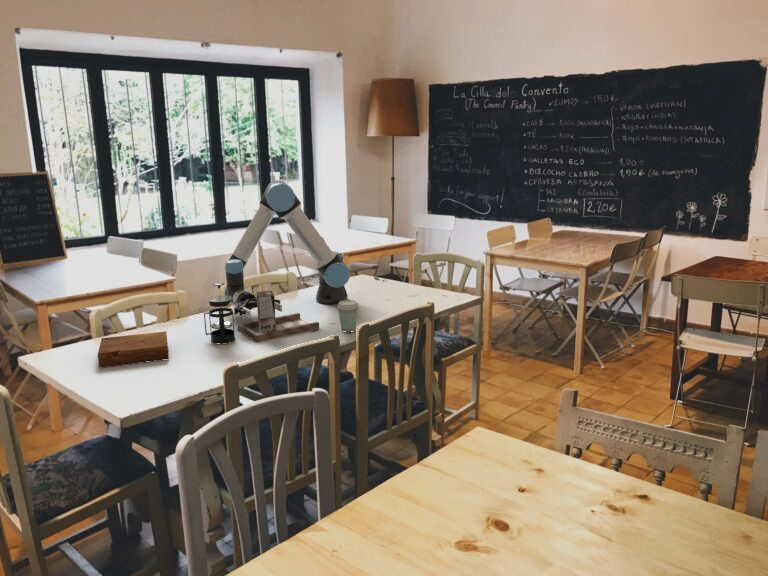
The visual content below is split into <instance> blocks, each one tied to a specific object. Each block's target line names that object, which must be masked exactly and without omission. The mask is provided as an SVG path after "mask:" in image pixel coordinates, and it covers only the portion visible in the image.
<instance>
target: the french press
mask: <svg viewBox="0 0 768 576" xmlns="http://www.w3.org/2000/svg"><path fill="white" fill-rule="evenodd" d="M224 285H225V283H224V282H216V283H213V286H214V287H217V289H218V294H219V295H216V296H211V297H209V298H208V299H207V301H208V302H209V303H208V304H209V306H210V307H213V309H210V310H209V311H207V312H203V318H204V320H203V321H204V330H205V335H206V336H210V342H211V343H212V342H213V343H212V344H214V343H220V344H219V345H222V344H221V343H227V344H230V343H229V342H231V343H233V342H235V341H236V336H235V335H236V334H235V325H234V324H235V321H234V319H232V322H231V321H225V318H227V317H230V316H232V317H234V310H233V309H232V308H230V307H228V305H230V304H231V303H230V300H232V297H230V296H224V295H221V286H224ZM224 312H227V313H224ZM206 315H208V316H209V319H211V318H218V320H219V321H217V322H214V323H212V322H211V320H209V328H210V329H209V330H210V332H208V331H207V322H206ZM211 323H212V324H211ZM232 328H233V329H232ZM212 329H214V330H212Z"/></svg>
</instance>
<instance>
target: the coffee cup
mask: <svg viewBox="0 0 768 576" xmlns="http://www.w3.org/2000/svg"><path fill="white" fill-rule="evenodd" d="M336 308H337V309H338V315H339V324H340V331H341V330H342V331H346V332H351V331H355V330H356V331H357V321H358V320H357V319H358V313H359V312H358V309H359V304H358V302H357V301H356V300H352V299H348V300H344V301H340V302H339V303H338V305H337V307H336ZM342 331H341V332H342ZM356 331H355V332H356Z"/></svg>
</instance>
